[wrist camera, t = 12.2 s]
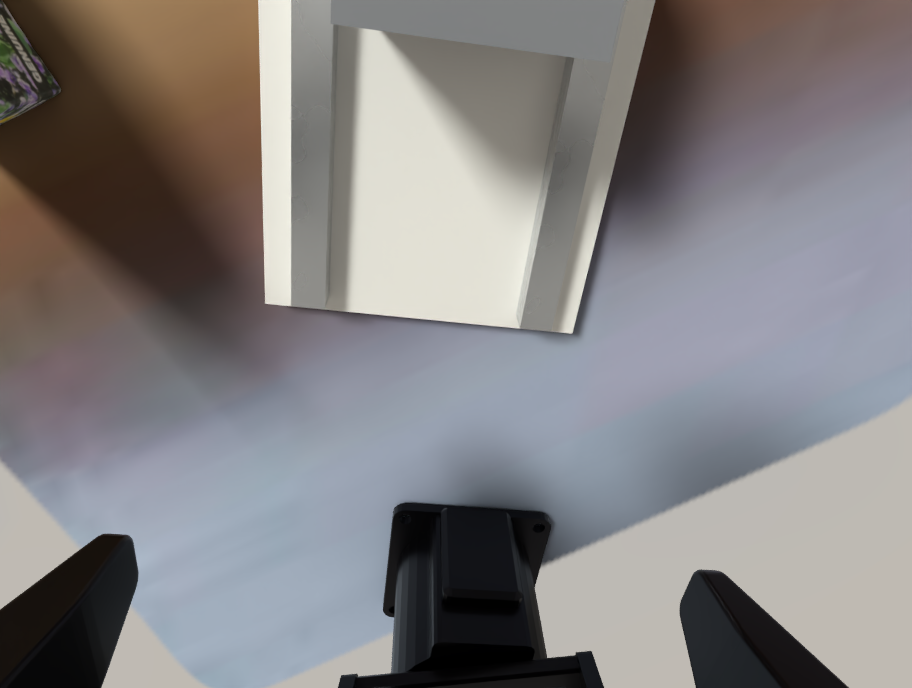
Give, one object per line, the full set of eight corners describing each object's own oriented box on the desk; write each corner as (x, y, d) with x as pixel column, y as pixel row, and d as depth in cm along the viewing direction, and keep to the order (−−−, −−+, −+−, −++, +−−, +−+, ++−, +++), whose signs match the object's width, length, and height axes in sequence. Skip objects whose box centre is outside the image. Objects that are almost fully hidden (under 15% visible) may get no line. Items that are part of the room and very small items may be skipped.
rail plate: (566, 320, 21) (593, 382, 18) (271, 290, 20) (239, 350, 17) (720, -320, 14) (820, -430, 10) (260, -415, 13) (197, -573, 9)
